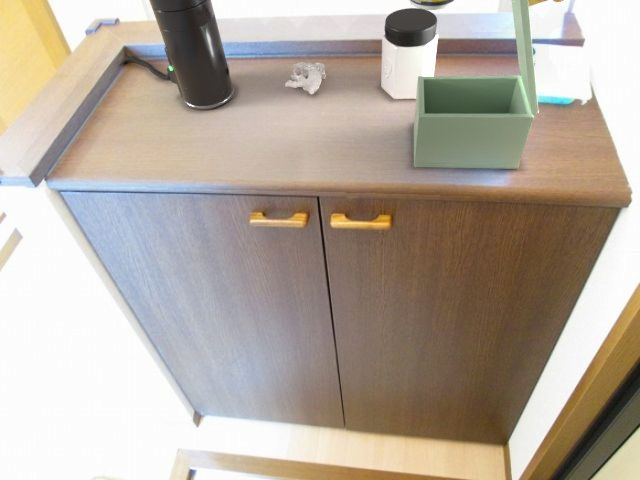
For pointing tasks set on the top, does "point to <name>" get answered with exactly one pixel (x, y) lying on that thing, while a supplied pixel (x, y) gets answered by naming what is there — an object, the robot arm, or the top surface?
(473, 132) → the chest
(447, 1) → the pill bottle
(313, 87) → the pelvis model
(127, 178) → the top surface
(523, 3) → the lid
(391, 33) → the jar
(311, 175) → the top surface
